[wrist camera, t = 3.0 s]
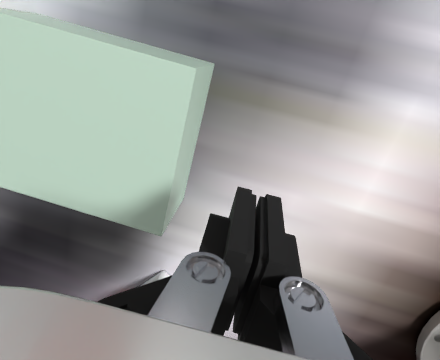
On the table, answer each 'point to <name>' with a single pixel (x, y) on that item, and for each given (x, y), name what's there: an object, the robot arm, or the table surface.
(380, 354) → the table surface
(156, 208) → the green block
